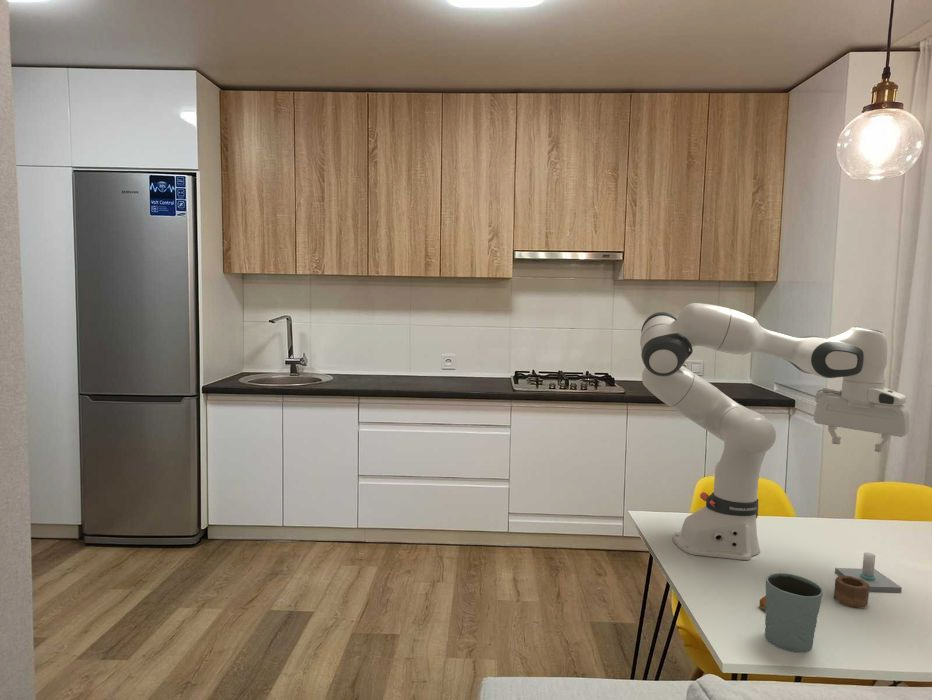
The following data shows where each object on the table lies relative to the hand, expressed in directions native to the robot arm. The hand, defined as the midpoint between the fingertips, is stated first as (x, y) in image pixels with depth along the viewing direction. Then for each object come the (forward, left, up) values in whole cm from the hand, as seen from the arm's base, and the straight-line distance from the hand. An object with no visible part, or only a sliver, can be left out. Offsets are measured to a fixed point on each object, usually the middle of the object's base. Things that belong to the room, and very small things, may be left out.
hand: (857, 447), depth 158 cm
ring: (-8, -16, -32) cm, 37 cm away
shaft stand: (+2, -6, -32) cm, 33 cm away
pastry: (-26, -20, -33) cm, 46 cm away
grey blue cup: (-31, -34, -32) cm, 56 cm away
